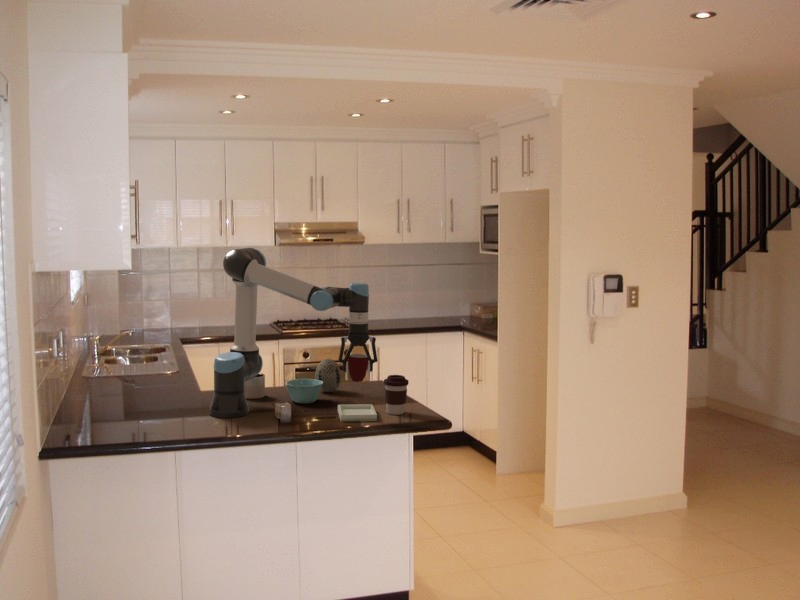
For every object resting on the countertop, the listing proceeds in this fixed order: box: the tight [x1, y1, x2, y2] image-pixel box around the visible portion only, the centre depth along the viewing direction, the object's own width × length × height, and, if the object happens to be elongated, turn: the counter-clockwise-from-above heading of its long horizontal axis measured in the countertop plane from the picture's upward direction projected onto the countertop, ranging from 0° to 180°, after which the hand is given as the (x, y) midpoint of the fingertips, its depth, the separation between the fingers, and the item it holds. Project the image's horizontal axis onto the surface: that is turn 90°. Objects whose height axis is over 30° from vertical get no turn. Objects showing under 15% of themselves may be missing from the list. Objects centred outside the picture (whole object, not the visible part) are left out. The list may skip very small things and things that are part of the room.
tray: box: [337, 403, 378, 422], centre depth 325 cm, size 14×17×2 cm
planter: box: [244, 372, 266, 400], centre depth 353 cm, size 11×11×10 cm
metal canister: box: [279, 404, 292, 424], centre depth 314 cm, size 4×4×6 cm
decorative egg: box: [314, 358, 342, 393], centre depth 365 cm, size 12×12×15 cm
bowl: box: [285, 378, 323, 404], centre depth 347 cm, size 16×16×8 cm
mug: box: [347, 353, 369, 383], centre depth 323 cm, size 10×8×10 cm
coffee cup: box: [383, 374, 409, 416], centre depth 330 cm, size 10×10×15 cm
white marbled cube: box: [274, 402, 291, 419], centre depth 320 cm, size 5×5×5 cm
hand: (357, 379), depth 323 cm, fingers closed on mug, 8 cm apart
